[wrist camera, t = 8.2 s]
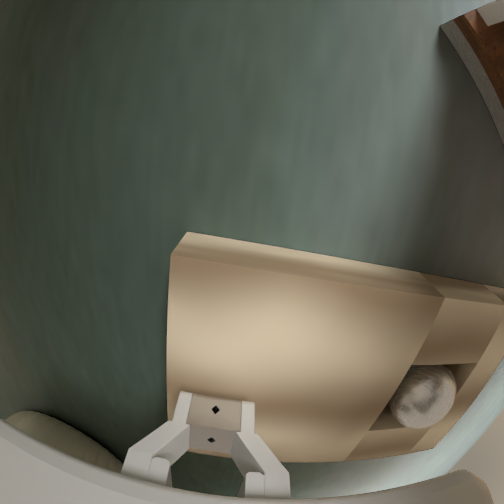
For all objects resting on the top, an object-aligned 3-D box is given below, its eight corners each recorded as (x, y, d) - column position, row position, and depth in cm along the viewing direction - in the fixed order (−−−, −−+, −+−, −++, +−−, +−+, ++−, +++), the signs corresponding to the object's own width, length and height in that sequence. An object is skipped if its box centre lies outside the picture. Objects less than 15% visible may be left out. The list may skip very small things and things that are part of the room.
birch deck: (187, 231, 12) (170, 254, 9) (505, 288, 13) (529, 308, 10) (177, 416, 16) (169, 447, 14) (422, 424, 17) (433, 448, 15)
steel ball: (424, 335, 15) (392, 364, 12) (476, 368, 12) (455, 406, 9) (398, 384, 16) (364, 414, 14) (443, 415, 13) (415, 453, 11)
